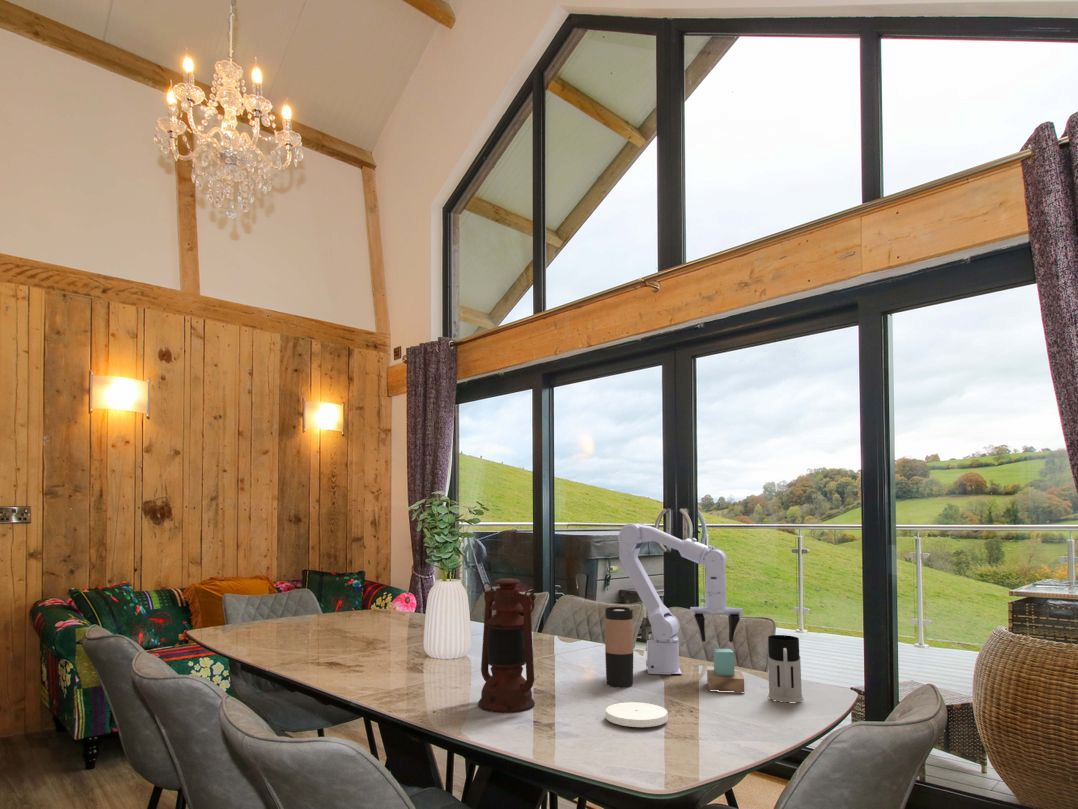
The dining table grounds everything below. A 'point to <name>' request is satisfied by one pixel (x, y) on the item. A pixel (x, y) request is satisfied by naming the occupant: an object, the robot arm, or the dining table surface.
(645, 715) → the plastic lid
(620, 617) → the travel mug
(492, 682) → the lantern
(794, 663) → the glass holder
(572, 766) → the dining table surface
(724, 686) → the walnut base
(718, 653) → the teal block
